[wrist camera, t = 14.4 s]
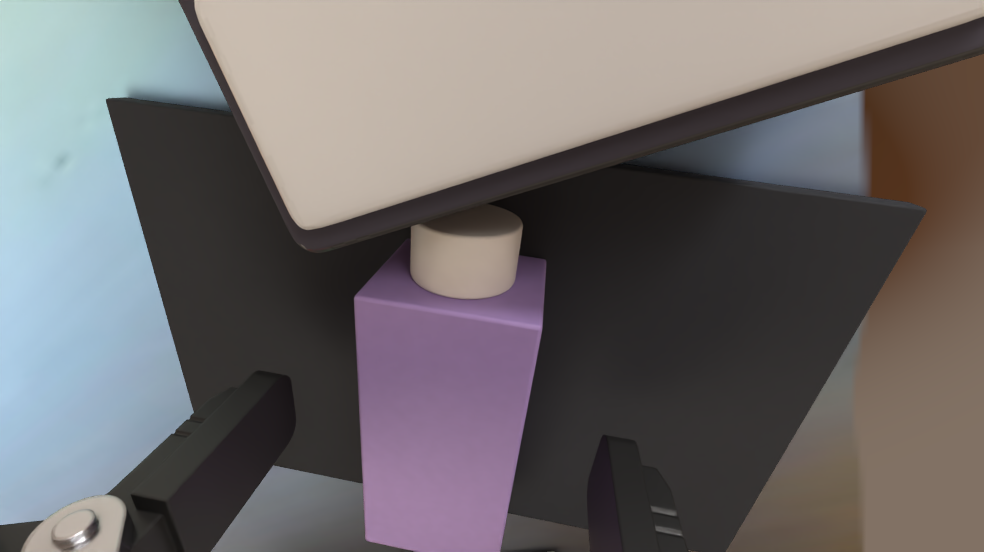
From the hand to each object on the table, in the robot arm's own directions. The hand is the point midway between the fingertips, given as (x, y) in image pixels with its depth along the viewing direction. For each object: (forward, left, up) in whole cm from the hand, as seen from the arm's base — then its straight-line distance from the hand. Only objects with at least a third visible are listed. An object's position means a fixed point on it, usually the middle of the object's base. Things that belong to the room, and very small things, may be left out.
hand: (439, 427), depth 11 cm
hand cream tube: (0, 0, -3) cm, 3 cm away
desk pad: (0, 0, -3) cm, 3 cm away
